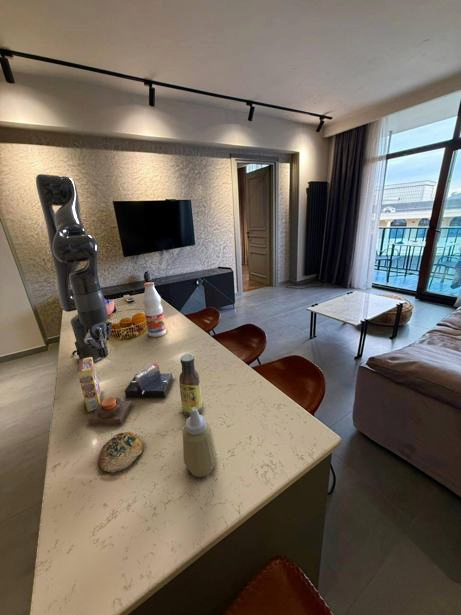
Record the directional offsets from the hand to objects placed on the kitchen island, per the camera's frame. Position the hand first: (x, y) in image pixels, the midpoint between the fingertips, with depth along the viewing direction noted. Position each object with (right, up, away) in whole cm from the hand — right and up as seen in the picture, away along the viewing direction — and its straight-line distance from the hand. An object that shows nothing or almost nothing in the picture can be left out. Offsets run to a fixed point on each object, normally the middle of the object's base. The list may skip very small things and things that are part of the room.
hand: (104, 356), depth 81 cm
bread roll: (+11, -24, -13) cm, 29 cm away
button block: (+2, -19, +1) cm, 19 cm away
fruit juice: (+1, +1, +57) cm, 57 cm away
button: (+2, -16, 0) cm, 16 cm away
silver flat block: (+11, -11, +11) cm, 19 cm away
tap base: (+11, -14, +13) cm, 22 cm away
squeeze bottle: (+33, -24, -17) cm, 44 cm away
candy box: (-7, -17, +7) cm, 20 cm away
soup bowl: (-43, +10, +85) cm, 96 cm away
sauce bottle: (+28, -18, +1) cm, 33 cm away
